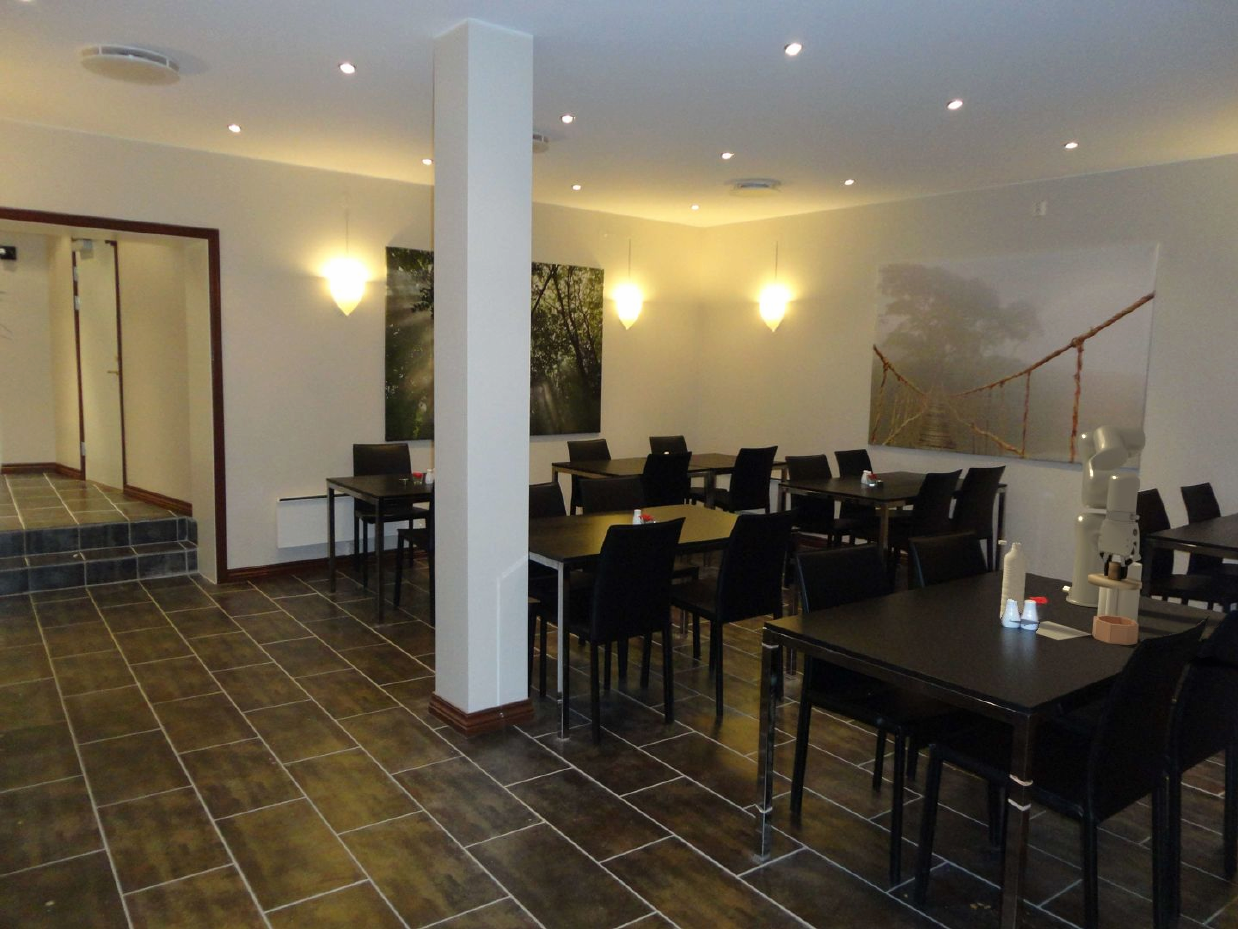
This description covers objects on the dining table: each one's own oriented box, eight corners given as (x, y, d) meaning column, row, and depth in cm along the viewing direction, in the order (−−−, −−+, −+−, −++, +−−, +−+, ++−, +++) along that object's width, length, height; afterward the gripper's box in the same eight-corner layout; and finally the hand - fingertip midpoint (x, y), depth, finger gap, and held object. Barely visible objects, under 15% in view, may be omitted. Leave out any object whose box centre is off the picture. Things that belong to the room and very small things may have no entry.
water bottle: (1024, 619, 279) (1030, 543, 276) (1018, 624, 274) (1024, 546, 271) (996, 614, 284) (1002, 539, 282) (989, 618, 279) (995, 541, 277)
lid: (1106, 576, 267) (1108, 556, 267) (1152, 587, 255) (1154, 565, 254) (1077, 581, 261) (1079, 559, 260) (1122, 592, 249) (1124, 569, 248)
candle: (1138, 625, 276) (1144, 563, 274) (1134, 630, 270) (1140, 567, 268) (1098, 618, 283) (1103, 557, 281) (1093, 622, 277) (1098, 561, 275)
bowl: (1085, 636, 262) (1086, 617, 261) (1108, 632, 267) (1110, 613, 266) (1119, 647, 252) (1121, 627, 251) (1143, 643, 257) (1145, 623, 256)
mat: (1015, 627, 270) (1015, 626, 270) (1048, 622, 276) (1048, 621, 276) (1058, 641, 256) (1058, 640, 256) (1091, 635, 263) (1091, 634, 263)
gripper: (1156, 520, 250) (1150, 582, 252) (1102, 511, 265) (1096, 570, 267) (1140, 521, 247) (1134, 585, 249) (1086, 512, 261) (1081, 572, 263)
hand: (1115, 576), depth 258 cm, fingers closed on lid, 3 cm apart
